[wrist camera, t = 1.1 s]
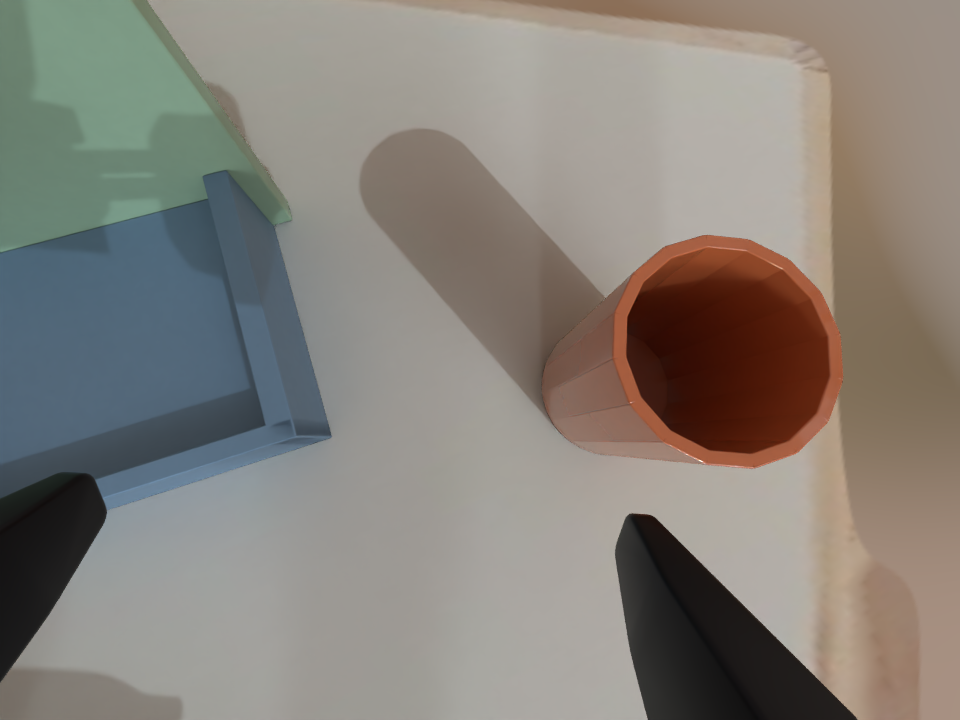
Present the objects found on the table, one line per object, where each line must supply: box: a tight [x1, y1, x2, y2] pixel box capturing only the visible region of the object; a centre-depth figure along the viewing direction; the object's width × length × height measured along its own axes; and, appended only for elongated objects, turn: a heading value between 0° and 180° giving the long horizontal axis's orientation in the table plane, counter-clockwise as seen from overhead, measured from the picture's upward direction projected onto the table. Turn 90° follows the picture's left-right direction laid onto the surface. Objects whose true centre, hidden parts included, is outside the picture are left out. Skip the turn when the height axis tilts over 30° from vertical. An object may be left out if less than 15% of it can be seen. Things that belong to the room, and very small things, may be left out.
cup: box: [542, 235, 843, 469], centre depth 18 cm, size 7×7×10 cm
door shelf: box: [0, 0, 332, 510], centre depth 16 cm, size 13×16×13 cm
